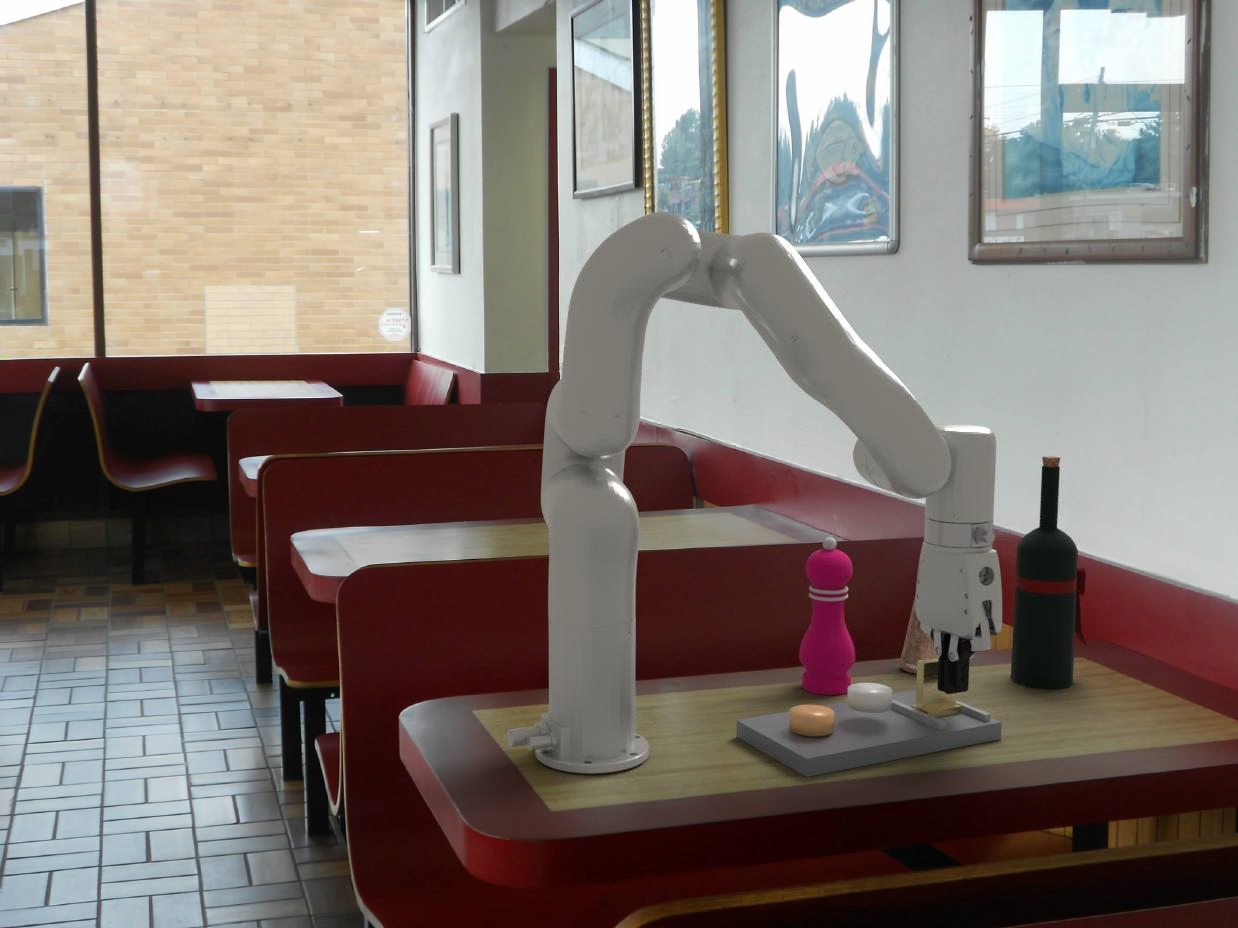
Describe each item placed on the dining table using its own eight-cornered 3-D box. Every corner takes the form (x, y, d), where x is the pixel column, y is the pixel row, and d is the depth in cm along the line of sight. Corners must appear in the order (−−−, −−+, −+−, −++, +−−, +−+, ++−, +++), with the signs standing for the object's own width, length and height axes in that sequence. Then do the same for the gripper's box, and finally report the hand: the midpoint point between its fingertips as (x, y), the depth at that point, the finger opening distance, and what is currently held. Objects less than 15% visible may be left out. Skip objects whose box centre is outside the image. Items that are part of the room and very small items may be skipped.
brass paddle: (927, 718, 146) (929, 665, 145) (910, 711, 149) (912, 658, 148) (960, 712, 148) (962, 660, 148) (943, 705, 151) (945, 653, 150)
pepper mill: (852, 680, 168) (855, 532, 165) (856, 697, 161) (860, 543, 158) (797, 679, 169) (800, 531, 166) (799, 695, 162) (802, 541, 159)
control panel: (806, 776, 133) (807, 751, 133) (736, 736, 146) (736, 713, 146) (1001, 738, 145) (1001, 715, 145) (921, 704, 158) (921, 683, 157)
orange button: (805, 738, 138) (806, 721, 138) (780, 725, 143) (780, 708, 143) (843, 731, 141) (843, 714, 140) (816, 719, 145) (817, 702, 145)
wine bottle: (1100, 685, 166) (1111, 459, 162) (1031, 691, 164) (1041, 461, 160) (1065, 668, 174) (1075, 452, 170) (999, 674, 171) (1007, 454, 168)
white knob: (865, 715, 142) (865, 697, 142) (838, 702, 146) (838, 686, 146) (900, 709, 144) (901, 692, 144) (873, 697, 148) (873, 680, 148)
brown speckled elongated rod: (948, 682, 170) (942, 671, 176) (973, 552, 168) (966, 545, 174) (901, 674, 170) (896, 662, 176) (926, 544, 169) (920, 537, 175)
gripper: (1031, 542, 138) (1024, 704, 141) (940, 521, 152) (935, 670, 154) (978, 548, 135) (972, 714, 137) (890, 526, 148) (886, 678, 151)
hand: (952, 690), depth 146 cm, fingers closed
